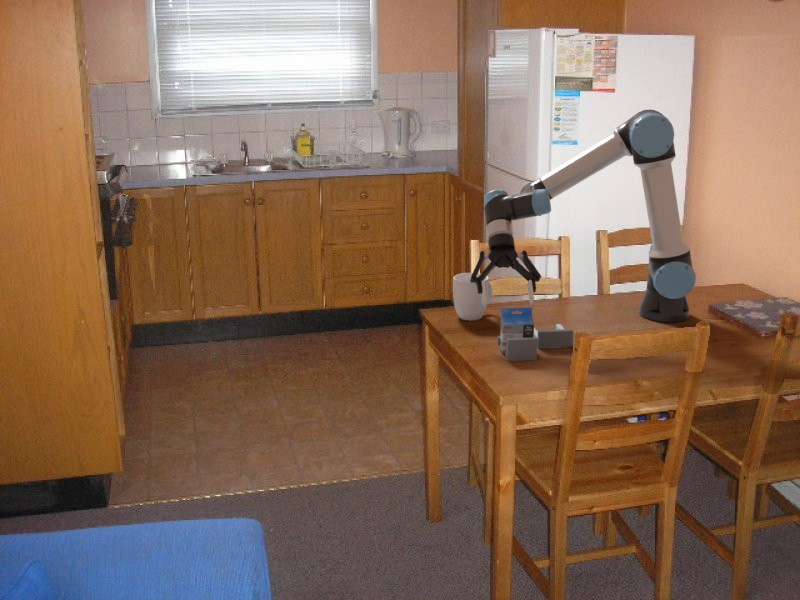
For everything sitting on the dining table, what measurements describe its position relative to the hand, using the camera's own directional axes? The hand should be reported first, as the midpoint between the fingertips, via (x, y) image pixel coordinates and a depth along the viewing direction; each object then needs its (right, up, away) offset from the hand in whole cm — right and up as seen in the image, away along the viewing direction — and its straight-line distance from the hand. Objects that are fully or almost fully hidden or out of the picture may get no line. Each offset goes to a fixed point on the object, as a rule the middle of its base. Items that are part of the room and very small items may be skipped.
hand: (508, 302), depth 256 cm
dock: (+13, -11, +6) cm, 18 cm away
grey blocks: (+2, -13, -3) cm, 14 cm away
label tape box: (+2, -14, -3) cm, 14 cm away
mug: (-8, -5, +27) cm, 28 cm away
